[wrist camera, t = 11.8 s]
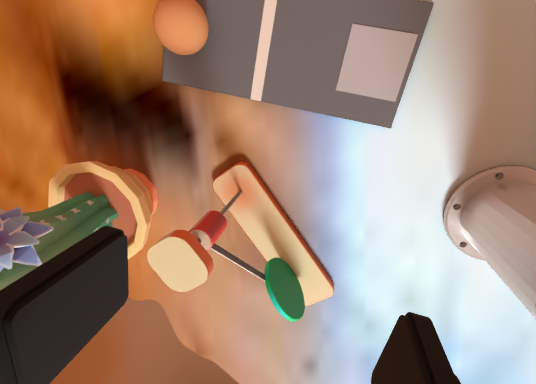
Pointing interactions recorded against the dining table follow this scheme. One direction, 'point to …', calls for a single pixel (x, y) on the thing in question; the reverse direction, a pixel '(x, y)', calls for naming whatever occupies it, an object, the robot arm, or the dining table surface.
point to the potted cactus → (76, 216)
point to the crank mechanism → (263, 237)
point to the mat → (308, 54)
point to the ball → (181, 25)
